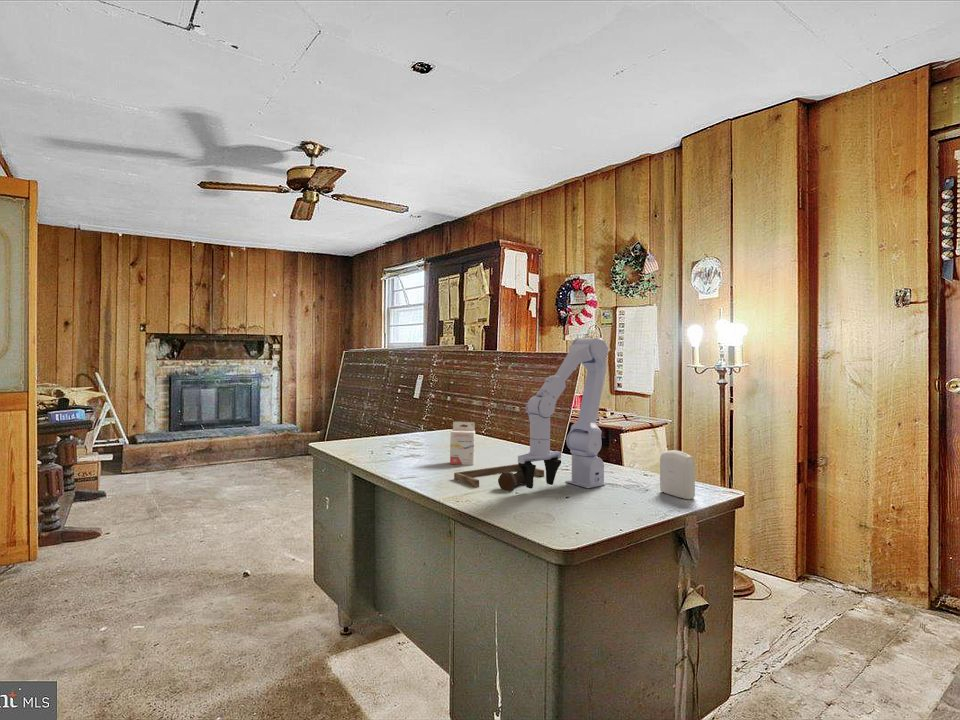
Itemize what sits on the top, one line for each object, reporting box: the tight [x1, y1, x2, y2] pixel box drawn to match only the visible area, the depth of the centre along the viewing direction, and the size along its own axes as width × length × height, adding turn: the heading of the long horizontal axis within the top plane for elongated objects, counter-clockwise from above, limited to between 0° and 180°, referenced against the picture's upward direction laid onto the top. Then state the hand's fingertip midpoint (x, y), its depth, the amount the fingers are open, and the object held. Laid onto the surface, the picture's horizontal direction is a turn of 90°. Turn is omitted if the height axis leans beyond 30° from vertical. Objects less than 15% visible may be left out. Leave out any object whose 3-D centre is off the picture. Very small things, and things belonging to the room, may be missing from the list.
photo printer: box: [659, 449, 696, 500], centre depth 148 cm, size 10×4×12 cm, turn 26°
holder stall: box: [453, 463, 545, 488], centre depth 168 cm, size 12×26×2 cm, turn 124°
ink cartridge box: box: [449, 421, 476, 466], centre depth 190 cm, size 9×5×15 cm, turn 84°
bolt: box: [497, 469, 535, 492], centre depth 159 cm, size 6×5×15 cm
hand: (539, 486), depth 152 cm, fingers open, 7 cm apart
